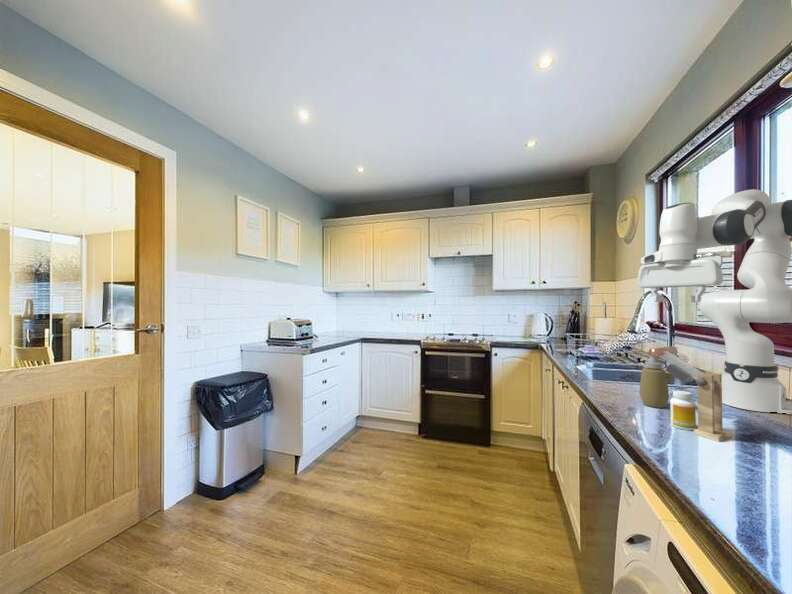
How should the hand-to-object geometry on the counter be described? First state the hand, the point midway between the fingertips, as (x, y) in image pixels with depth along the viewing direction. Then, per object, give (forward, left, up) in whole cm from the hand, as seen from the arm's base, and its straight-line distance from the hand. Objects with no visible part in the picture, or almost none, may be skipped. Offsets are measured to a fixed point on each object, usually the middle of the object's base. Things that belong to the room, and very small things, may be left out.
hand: (676, 302), depth 100 cm
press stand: (+7, +10, -35) cm, 37 cm away
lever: (+5, +3, -20) cm, 21 cm away
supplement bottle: (+7, +4, -35) cm, 36 cm away
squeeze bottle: (-7, -10, -35) cm, 37 cm away
